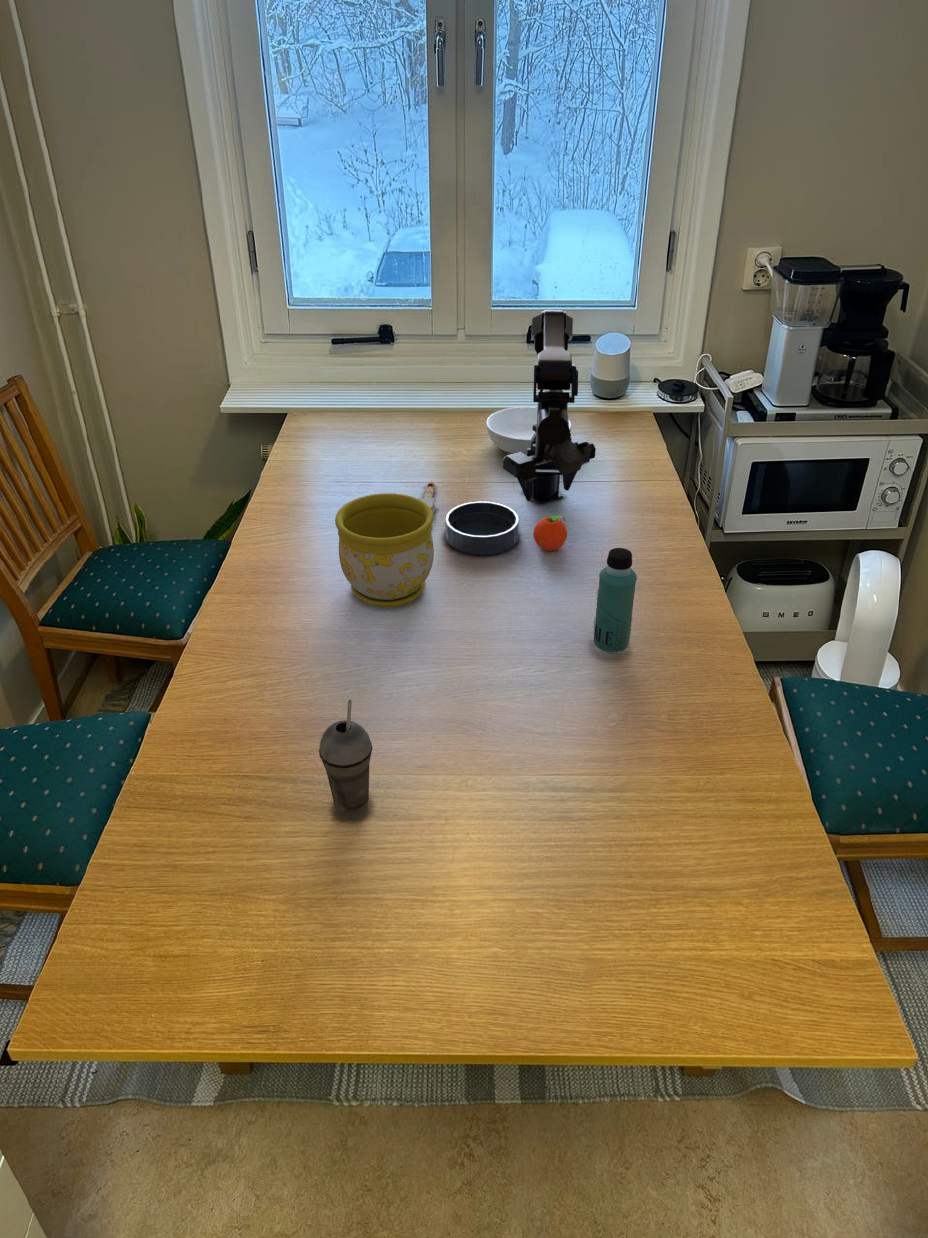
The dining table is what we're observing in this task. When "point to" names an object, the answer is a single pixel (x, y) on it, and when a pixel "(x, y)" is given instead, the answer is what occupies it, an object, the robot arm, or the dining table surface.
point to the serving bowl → (513, 428)
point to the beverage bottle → (615, 602)
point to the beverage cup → (347, 765)
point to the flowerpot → (386, 547)
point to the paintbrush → (429, 496)
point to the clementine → (550, 533)
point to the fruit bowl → (481, 528)
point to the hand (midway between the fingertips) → (547, 495)
